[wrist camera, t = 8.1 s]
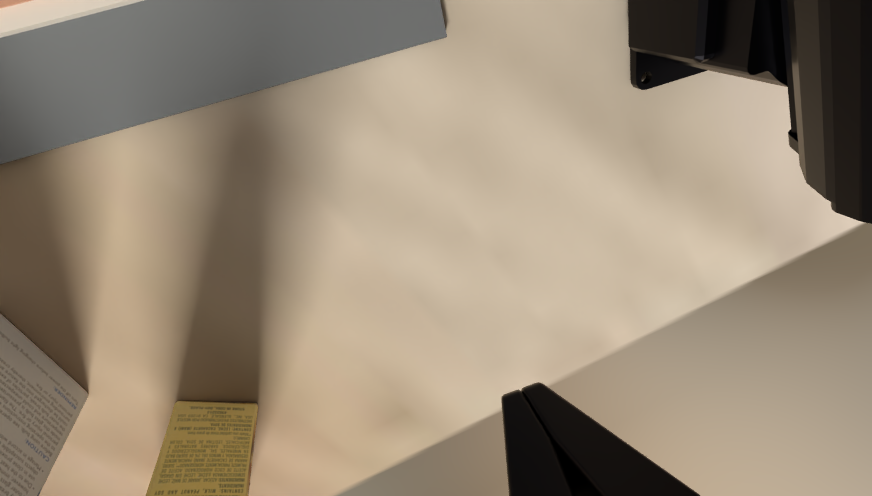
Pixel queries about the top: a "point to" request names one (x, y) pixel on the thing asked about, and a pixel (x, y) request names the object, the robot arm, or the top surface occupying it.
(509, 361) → the top surface
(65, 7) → the ivory tile
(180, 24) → the rubber mat
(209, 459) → the candy box
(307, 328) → the top surface
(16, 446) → the light bulb box
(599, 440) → the robot arm
